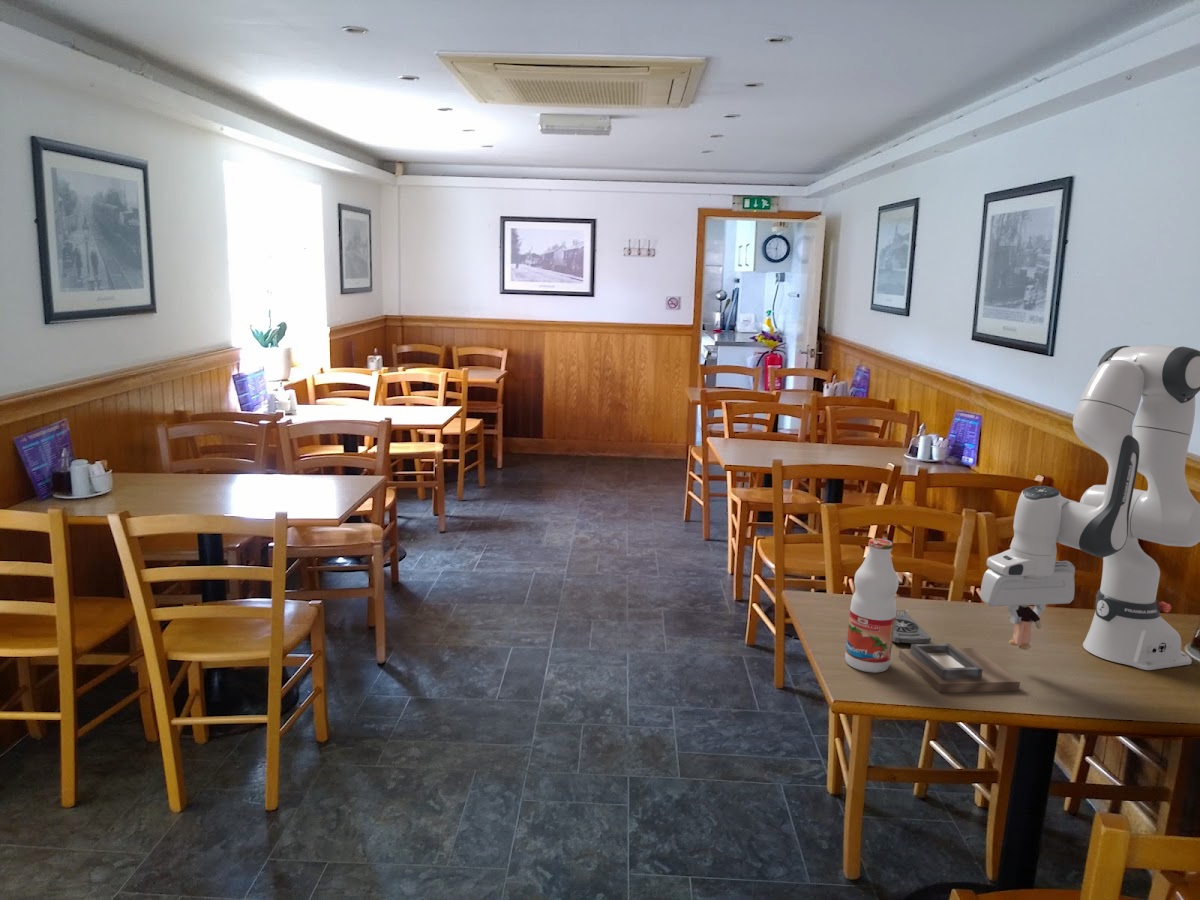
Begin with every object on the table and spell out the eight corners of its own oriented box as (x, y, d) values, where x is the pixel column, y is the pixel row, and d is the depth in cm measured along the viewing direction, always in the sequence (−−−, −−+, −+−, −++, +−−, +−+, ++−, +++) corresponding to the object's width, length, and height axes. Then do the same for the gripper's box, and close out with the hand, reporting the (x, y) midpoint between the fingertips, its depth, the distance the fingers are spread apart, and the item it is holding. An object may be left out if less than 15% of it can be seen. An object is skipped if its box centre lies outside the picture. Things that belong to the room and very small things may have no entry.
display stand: (972, 656, 196) (974, 639, 195) (1018, 690, 180) (1021, 672, 179) (898, 657, 193) (900, 640, 193) (938, 692, 177) (941, 674, 176)
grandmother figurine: (1000, 643, 190) (1004, 588, 188) (1008, 638, 192) (1012, 584, 190) (1035, 654, 184) (1040, 598, 182) (1044, 649, 187) (1048, 593, 184)
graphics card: (860, 607, 215) (907, 608, 215) (859, 621, 216) (906, 622, 216) (884, 635, 198) (935, 636, 199) (882, 650, 199) (934, 651, 200)
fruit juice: (897, 666, 189) (912, 543, 183) (874, 677, 182) (889, 550, 177) (859, 651, 195) (873, 532, 190) (836, 662, 189) (849, 539, 184)
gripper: (1065, 555, 189) (1057, 615, 192) (979, 558, 186) (972, 618, 189) (1085, 565, 183) (1076, 626, 186) (997, 568, 180) (989, 630, 183)
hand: (1023, 622), depth 187 cm, fingers closed on grandmother figurine, 3 cm apart
